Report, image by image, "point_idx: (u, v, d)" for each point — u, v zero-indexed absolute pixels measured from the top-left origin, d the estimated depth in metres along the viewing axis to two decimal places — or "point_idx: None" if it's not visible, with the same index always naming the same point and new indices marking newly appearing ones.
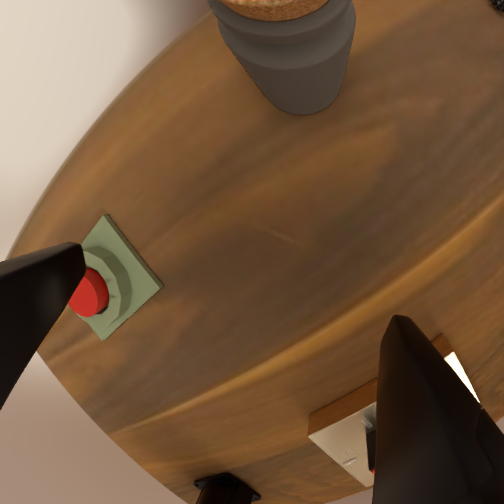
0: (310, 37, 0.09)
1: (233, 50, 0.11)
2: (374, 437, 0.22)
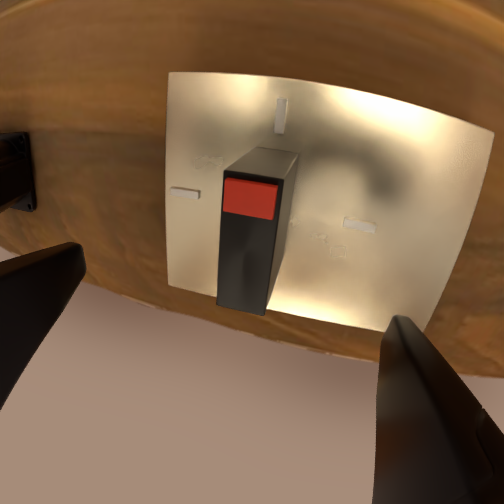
0: None
1: None
2: (271, 152, 0.12)
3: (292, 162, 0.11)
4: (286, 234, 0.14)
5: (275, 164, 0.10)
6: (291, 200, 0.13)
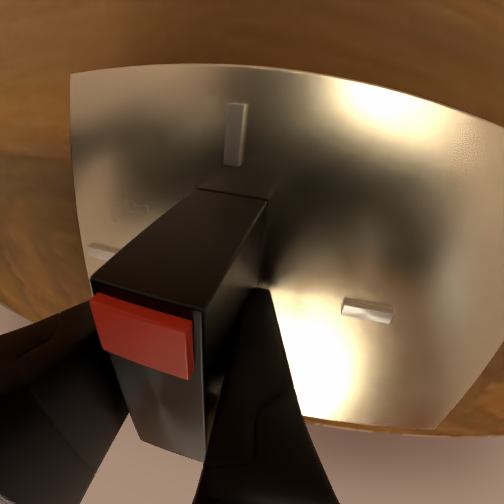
0: None
1: None
2: (216, 204, 0.07)
3: (247, 231, 0.06)
4: None
5: (206, 244, 0.05)
6: (256, 277, 0.08)
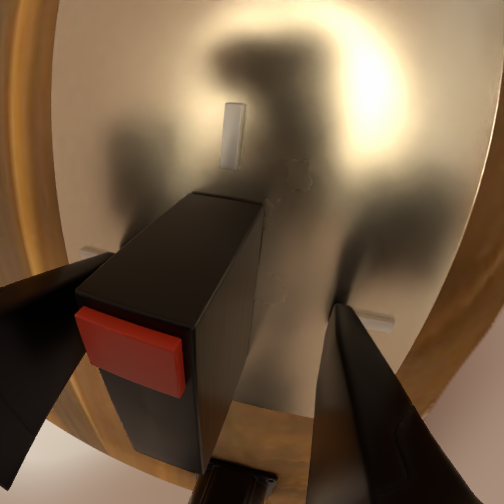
0: None
1: None
2: (210, 209, 0.06)
3: (242, 239, 0.05)
4: (249, 329, 0.09)
5: (199, 253, 0.05)
6: (253, 285, 0.08)
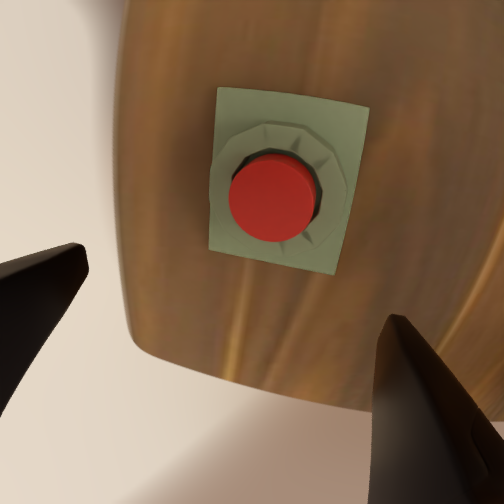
0: None
1: None
2: None
3: None
4: None
5: None
6: None
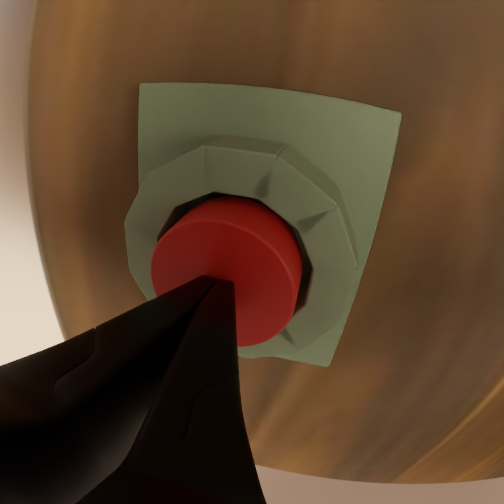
0: None
1: None
2: None
3: None
4: None
5: None
6: None
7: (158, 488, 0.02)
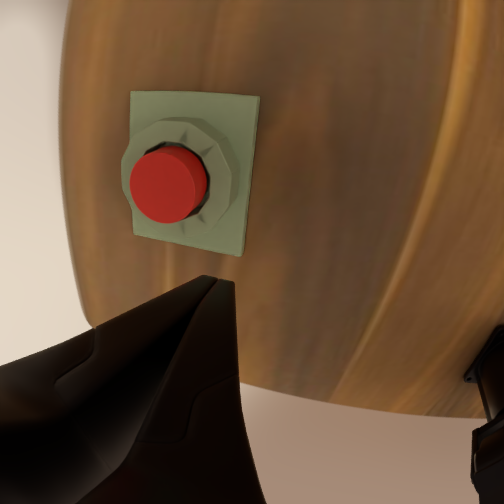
0: None
1: None
2: None
3: None
4: None
5: None
6: None
7: (158, 488, 0.02)
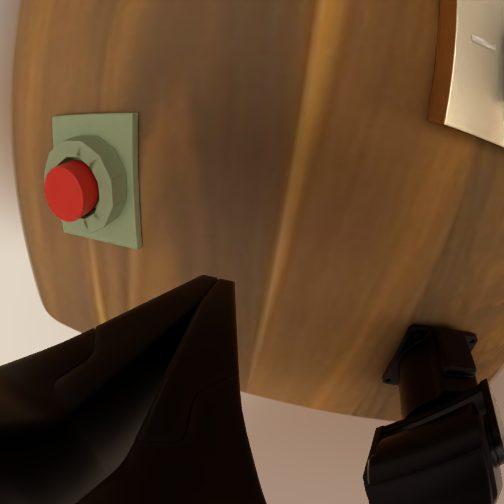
0: None
1: None
2: None
3: None
4: None
5: None
6: None
7: (158, 488, 0.02)
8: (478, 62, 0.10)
